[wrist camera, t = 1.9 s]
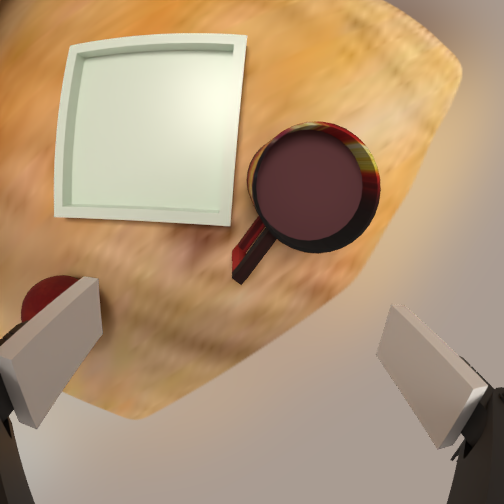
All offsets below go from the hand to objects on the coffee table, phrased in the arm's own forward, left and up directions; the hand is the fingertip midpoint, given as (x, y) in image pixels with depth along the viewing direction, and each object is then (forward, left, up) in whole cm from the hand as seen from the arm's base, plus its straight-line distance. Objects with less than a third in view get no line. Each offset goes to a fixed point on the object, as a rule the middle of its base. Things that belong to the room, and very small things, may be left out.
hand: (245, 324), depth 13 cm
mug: (-3, +5, -22) cm, 23 cm away
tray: (-10, -11, -22) cm, 27 cm away
